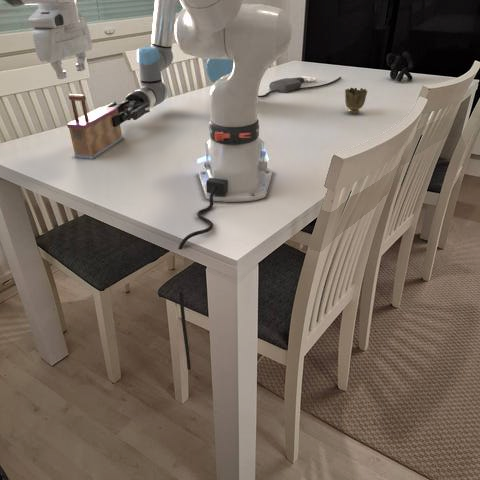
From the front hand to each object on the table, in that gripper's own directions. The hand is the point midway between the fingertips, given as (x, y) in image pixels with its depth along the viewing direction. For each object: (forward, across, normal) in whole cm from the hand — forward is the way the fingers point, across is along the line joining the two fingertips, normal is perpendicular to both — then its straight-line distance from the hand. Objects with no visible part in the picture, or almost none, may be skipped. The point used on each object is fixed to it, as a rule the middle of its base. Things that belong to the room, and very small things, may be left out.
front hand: (72, 74), depth 117 cm
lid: (+13, -6, 0) cm, 15 cm away
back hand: (+16, -11, +1) cm, 19 cm away
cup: (+22, -54, +74) cm, 94 cm away
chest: (+22, -6, 0) cm, 23 cm away
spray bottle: (+22, -91, +48) cm, 105 cm away
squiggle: (+22, -109, +94) cm, 146 cm away
